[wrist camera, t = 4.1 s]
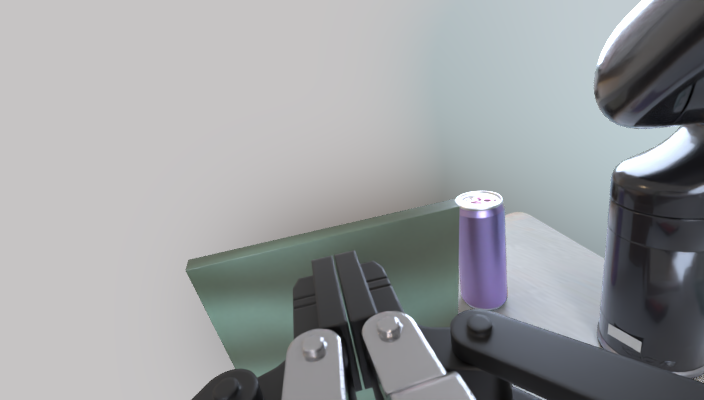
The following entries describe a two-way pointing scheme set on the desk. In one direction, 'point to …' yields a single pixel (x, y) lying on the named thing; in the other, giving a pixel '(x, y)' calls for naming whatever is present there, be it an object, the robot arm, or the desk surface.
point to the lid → (295, 262)
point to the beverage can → (482, 249)
